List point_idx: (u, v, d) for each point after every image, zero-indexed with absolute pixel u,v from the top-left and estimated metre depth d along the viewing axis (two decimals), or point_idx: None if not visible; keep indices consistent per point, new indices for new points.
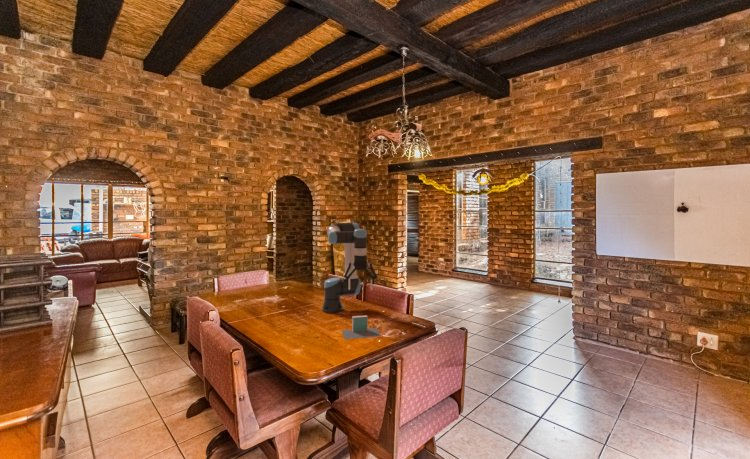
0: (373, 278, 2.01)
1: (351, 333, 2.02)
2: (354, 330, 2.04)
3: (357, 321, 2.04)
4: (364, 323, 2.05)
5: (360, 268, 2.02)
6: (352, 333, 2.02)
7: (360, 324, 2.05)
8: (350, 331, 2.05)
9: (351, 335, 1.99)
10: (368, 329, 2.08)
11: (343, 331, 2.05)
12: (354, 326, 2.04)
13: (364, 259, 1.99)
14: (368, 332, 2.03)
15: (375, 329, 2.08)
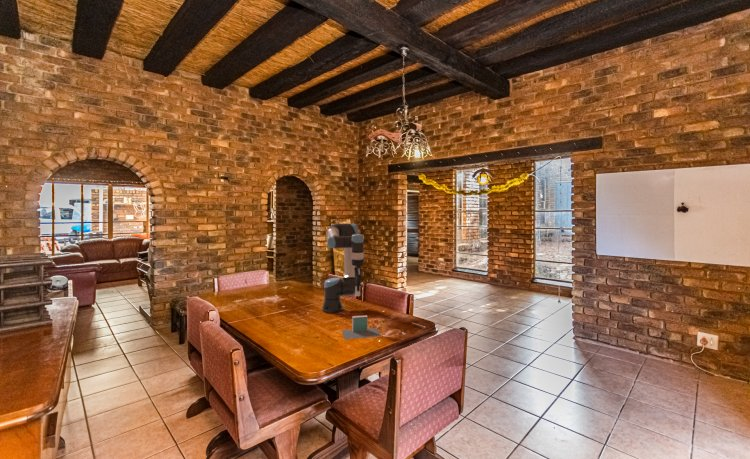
0: (355, 285, 2.10)
1: (351, 333, 2.02)
2: (354, 330, 2.04)
3: (357, 321, 2.04)
4: (364, 323, 2.05)
5: None
6: (352, 333, 2.02)
7: (360, 324, 2.05)
8: (350, 331, 2.05)
9: (351, 335, 1.99)
10: (368, 329, 2.08)
11: (343, 331, 2.05)
12: (354, 326, 2.04)
13: (354, 263, 2.08)
14: (368, 332, 2.03)
15: (375, 329, 2.08)
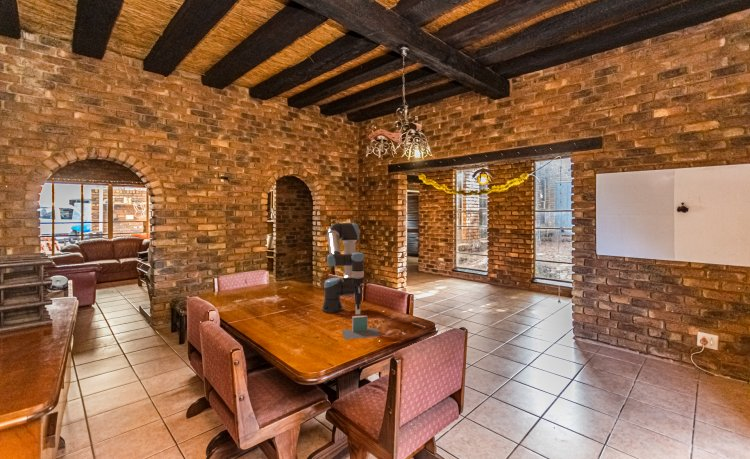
0: (355, 303, 2.11)
1: (351, 333, 2.02)
2: (354, 330, 2.04)
3: (357, 321, 2.04)
4: (364, 323, 2.05)
5: None
6: (352, 333, 2.02)
7: (360, 324, 2.05)
8: (350, 331, 2.05)
9: (351, 335, 1.99)
10: (368, 329, 2.08)
11: (343, 331, 2.05)
12: (354, 326, 2.04)
13: (354, 281, 2.09)
14: (368, 332, 2.03)
15: (375, 329, 2.08)
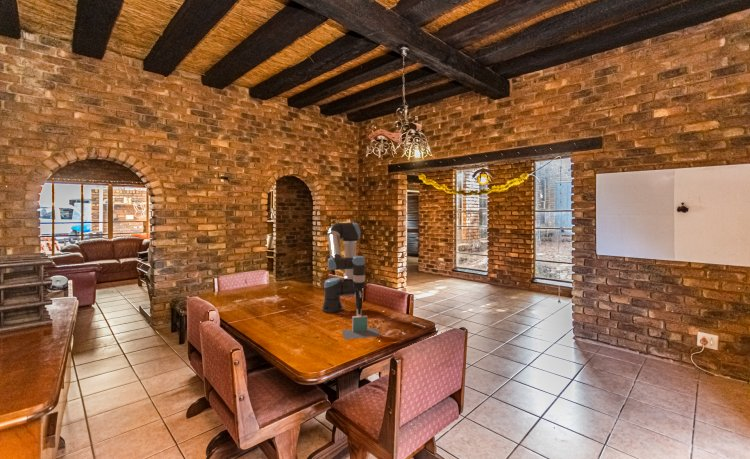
0: (356, 308, 2.07)
1: (351, 333, 2.02)
2: (354, 330, 2.04)
3: (357, 321, 2.04)
4: (364, 323, 2.05)
5: None
6: (352, 333, 2.02)
7: (360, 324, 2.05)
8: (350, 331, 2.05)
9: (351, 335, 1.99)
10: (368, 329, 2.08)
11: (343, 331, 2.05)
12: (354, 326, 2.04)
13: (355, 286, 2.04)
14: (368, 332, 2.03)
15: (375, 329, 2.08)
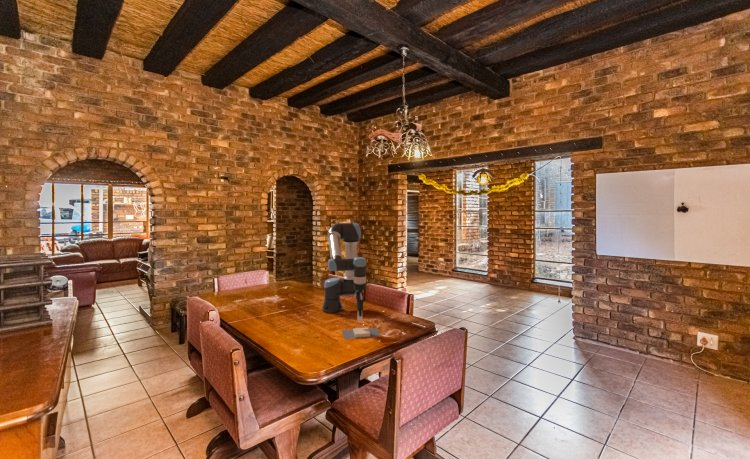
0: (357, 310, 2.03)
1: (351, 333, 2.02)
2: None
3: None
4: None
5: None
6: (352, 333, 2.02)
7: None
8: (350, 331, 2.05)
9: (351, 335, 1.99)
10: None
11: (343, 331, 2.05)
12: None
13: (356, 288, 2.01)
14: None
15: (375, 329, 2.08)
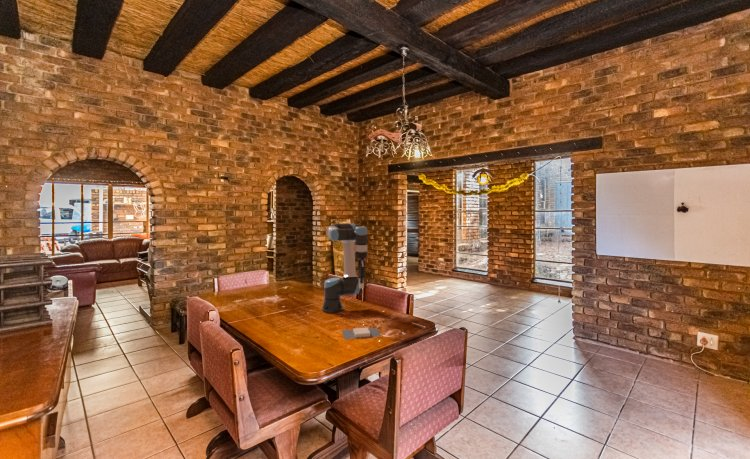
0: (358, 277, 2.11)
1: (351, 333, 2.02)
2: None
3: None
4: None
5: None
6: (352, 333, 2.02)
7: None
8: (350, 331, 2.05)
9: (351, 335, 1.99)
10: None
11: (343, 331, 2.05)
12: None
13: (357, 255, 2.09)
14: None
15: (375, 329, 2.08)
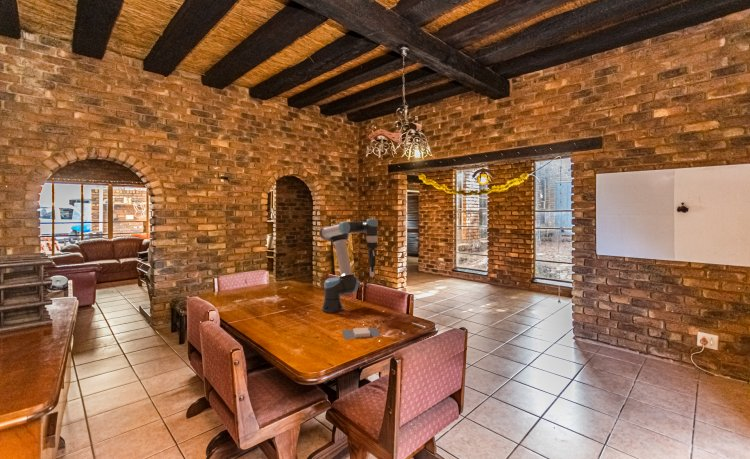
0: (369, 266, 2.26)
1: (351, 333, 2.02)
2: None
3: None
4: None
5: None
6: (352, 333, 2.02)
7: None
8: (350, 331, 2.05)
9: (351, 335, 1.99)
10: None
11: (343, 331, 2.05)
12: None
13: (369, 245, 2.23)
14: None
15: (375, 329, 2.08)
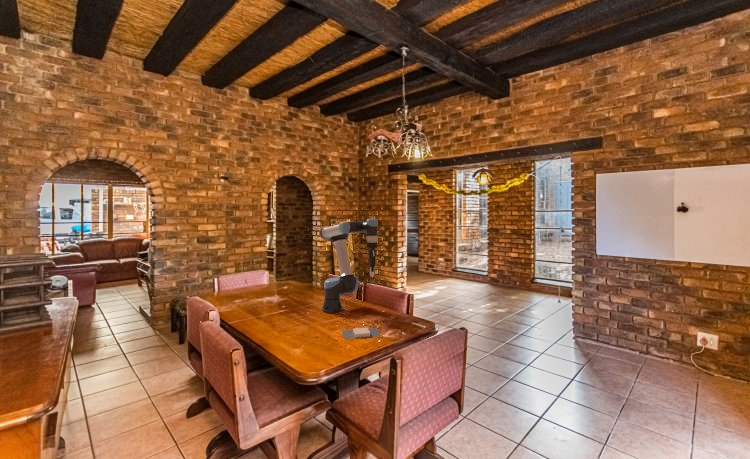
0: (369, 266, 2.26)
1: (351, 333, 2.02)
2: None
3: None
4: None
5: None
6: (352, 333, 2.02)
7: None
8: (350, 331, 2.05)
9: (351, 335, 1.99)
10: None
11: (343, 331, 2.05)
12: None
13: (369, 245, 2.23)
14: None
15: (375, 329, 2.08)
